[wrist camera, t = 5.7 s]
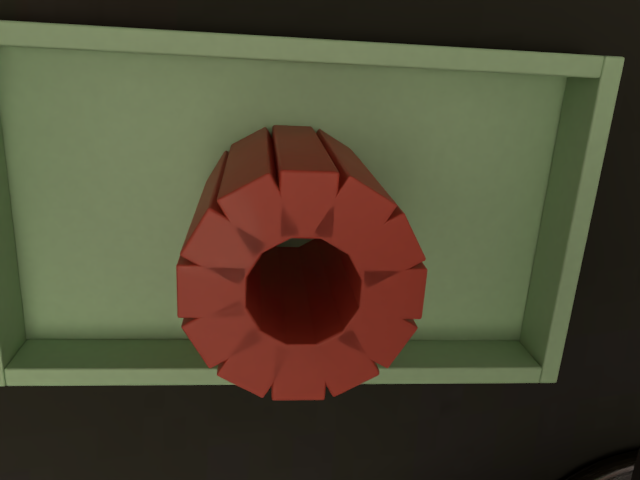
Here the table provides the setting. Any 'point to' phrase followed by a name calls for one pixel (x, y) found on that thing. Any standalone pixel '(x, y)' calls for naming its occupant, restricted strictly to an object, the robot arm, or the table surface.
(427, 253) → the box
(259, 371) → the red grooved hollow cylinder
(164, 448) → the table surface
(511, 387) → the table surface
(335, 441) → the table surface
